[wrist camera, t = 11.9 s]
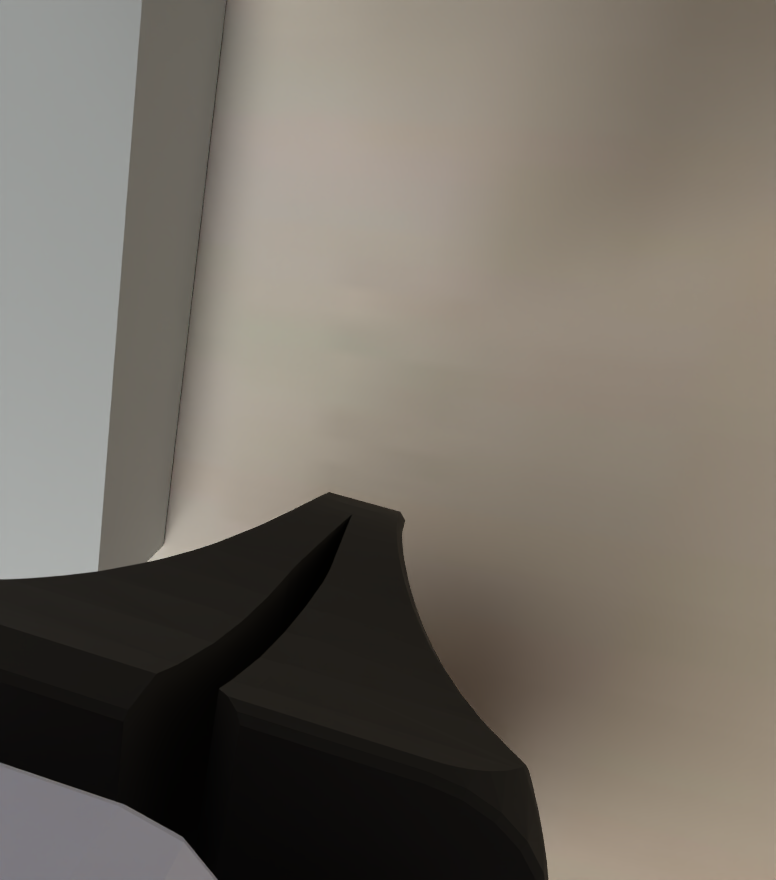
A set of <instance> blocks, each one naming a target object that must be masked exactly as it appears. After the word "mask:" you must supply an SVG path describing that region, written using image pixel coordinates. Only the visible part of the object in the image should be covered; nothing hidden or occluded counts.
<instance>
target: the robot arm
mask: <svg viewBox="0 0 776 880" xmlns="http://www.w3.org/2000/svg"><path fill="white" fill-rule="evenodd" d="M404 522H405V519H404V518H403V516H402V514H401V512H399V511H395V510H391V509H388V508H384V507H381V506H377V505H373V504H370V503H366V502H363V501H359V500H355V499H352V498H348V497H344V496H341V495H337V494H334V493H330V492H329V493H326V494H324V495H322V496H320V497H318V498H316V499H314V500H312V501H310V502H308V503H306V504H304V505H302V506H300V507H298V508H296V509H294V510H292V511H290V512H288V513H286V514H284V515H281V516H279V517H277V518H275V519H273V520H271V521H269V522H267V523H265V524H262V525H260V526H258V527H255V528H253V529H250V530H248V531H245V532H243V533H240V534H238V535H235V536H233V537H230V538H228V539H225V540H223V541H220V542H218V543H215V544H212V545H209V546H206V547H203V548H200V549H196V550H193V551H190V552H186V553H182V554H179V555H175V556H171V557H168V558H164V559H160V560H156V561H151V562H145V563H140V564H135V565H129V566H124V567H119V568H113V569H108V570H102V571H96V572H88V573H80V574H71V575H62V576H50V577H38V578H23V579H0V880H548V870H547V860H546V853H545V846H544V839H543V833H542V827H541V822H540V817H539V811H538V807H537V802H536V798H535V794H534V789H533V785H532V781H531V777H530V773H529V770H528V768H527V767H526V765H525V764H524V763H523V762H522V761H521V760H520V759H519V758H518V757H517V756H516V755H515V754H514V753H513V752H512V751H511V750H510V749H509V748H508V747H507V746H506V745H505V744H504V743H503V742H502V741H501V740H500V739H499V738H498V737H497V736H496V735H495V734H494V733H493V732H492V731H491V730H490V729H489V728H488V727H487V726H486V724H485V723H484V722H483V721H482V720H481V719H480V718H479V716H478V715H477V714H476V713H475V711H474V710H473V709H472V708H471V706H470V705H469V704H468V703H467V701H466V700H465V699H464V698H463V696H462V695H461V694H460V692H459V691H458V689H457V688H456V686H455V685H454V683H453V681H452V680H451V678H450V677H449V675H448V674H447V672H446V671H445V669H444V668H443V666H442V664H441V662H440V660H439V658H438V657H437V655H436V653H435V651H434V649H433V647H432V645H431V643H430V641H429V638H428V636H427V634H426V632H425V629H424V627H423V625H422V622H421V620H420V617H419V614H418V611H417V609H416V605H415V602H414V599H413V596H412V593H411V589H410V585H409V581H408V577H407V572H406V566H405V561H404V555H403V546H402V531H403V527H404Z"/></svg>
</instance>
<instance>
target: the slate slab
mask: <svg viewBox="0 0 776 880" xmlns="http://www.w3.org/2000/svg"><path fill="white" fill-rule="evenodd" d="M225 8H226V0H0V579H23V578H38V577H50V576H62V575H71V574H80V573H88V572H96V571H102V570H108V569H113V568H119V567H124V566H129V565H135V564H140V563H145V562H147V561H148V560H149V559H150V558H151V557H152V556H153V555H154V554H155V553H156V552H157V551H158V550H159V549H160V548H161V547H162V546H163V543H164V535H165V526H166V518H167V509H168V500H169V492H170V483H171V474H172V466H173V457H174V448H175V440H176V431H177V422H178V414H179V405H180V397H181V388H182V379H183V371H184V362H185V353H186V345H187V336H188V327H189V319H190V310H191V301H192V293H193V284H194V276H195V267H196V258H197V250H198V241H199V232H200V224H201V215H202V206H203V198H204V189H205V181H206V172H207V163H208V155H209V146H210V137H211V129H212V120H213V111H214V103H215V94H216V85H217V77H218V68H219V60H220V51H221V42H222V34H223V25H224V16H225Z"/></svg>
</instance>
